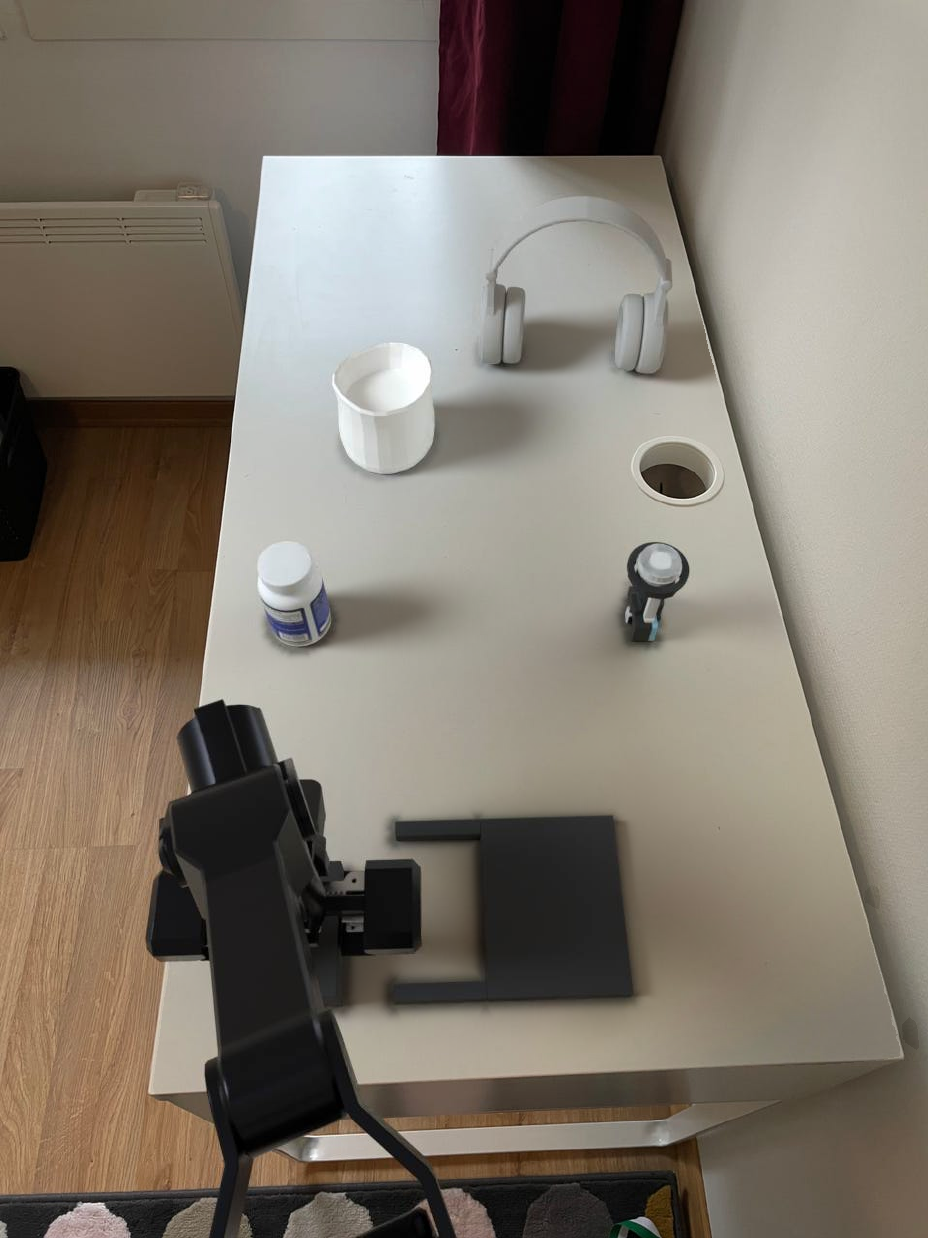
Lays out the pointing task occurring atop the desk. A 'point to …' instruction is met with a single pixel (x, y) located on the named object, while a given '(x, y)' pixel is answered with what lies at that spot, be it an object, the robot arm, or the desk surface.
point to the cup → (385, 406)
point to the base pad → (539, 910)
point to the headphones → (637, 316)
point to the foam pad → (330, 949)
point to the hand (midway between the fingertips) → (304, 936)
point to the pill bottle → (293, 594)
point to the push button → (652, 585)
